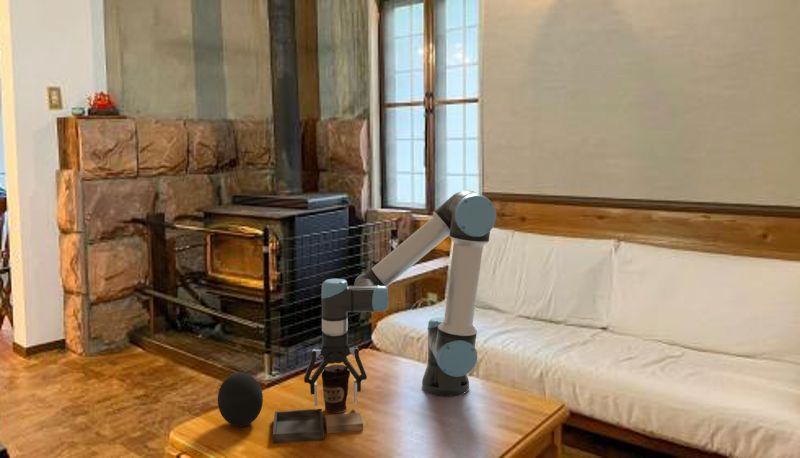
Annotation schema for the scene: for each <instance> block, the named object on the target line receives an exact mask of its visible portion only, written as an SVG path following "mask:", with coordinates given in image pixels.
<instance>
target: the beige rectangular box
mask: <svg viewBox="0 0 800 458" xmlns="http://www.w3.org/2000/svg"><path fill="white" fill-rule="evenodd" d="M324 417H325V418H324V419H325V429H326V433H327V434H335V433H337V434H338V433H348V432H360V431H364V422H363V419H362V415H361V412H355V413H354V412H353V413H336V414H328V415H327V414H326V415H324Z"/></svg>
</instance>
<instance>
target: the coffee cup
mask: <svg viewBox="0 0 800 458" xmlns="http://www.w3.org/2000/svg"><path fill="white" fill-rule="evenodd" d="M350 376H351V372H350V371H349V370H348V368H347V367H346V365H344V364H331V365H327V366H326V367H325V368H324V370H323V371H322V373H321V381H322V382H321V383H322V392H323V393H322V394H323V395H322V396H323V402H324V408H325V411H326V412H328V413H331V414H343V413H345V412H346V411H347V409H348V408H347V406H346V404H347V397H348V395H349V381H350Z"/></svg>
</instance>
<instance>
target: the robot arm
mask: <svg viewBox="0 0 800 458" xmlns="http://www.w3.org/2000/svg"><path fill="white" fill-rule="evenodd" d="M496 220H497V210H496V208H495V205H494V204H493V202H492V201H491V200H490V199H489V198H488V197H487V196H485V195H483V194H481V193H478V192H475V191H473V190H470V189H469V190H468V189H465V190H460V191H458V192H456V193H454V194H453V195H452V196H450V197H449V198H448V199H447V200H446V201H444V202H443V204H442V205H440V206H439V207H438V208H437V209H435V211H433V215H432V217H431V218H430V219H428V221H427V222H425V223H424V224H423V225H421V226H420V227H419V228H418V229H416V230H415V231H414V232H413V233H412V234H411V235H410V236H409V237H407V238H406V239H405V240H404V241H402V242H401V243H400V244H399V245H398V246H396V247H395V248H394V249H393V250H392V251H391V252H389V253H388V254H387V255H386V256H384V257H383V258H382V259H381V260H380V261H379V262H377V263H376V264H375V265H374V266H373V267H372V268H370V269H369V270H367V272H365V273H361V274H360V275H358V276H357V277H356V278H355V281H354V283H353V285H348V281H347V279H344V278H328V279H325V280H324V281H323V282H322V283H321V296H320V297H321V299H320V300H321V331H322V333H321V342H322V343H321V345H322V346H321V349H316V348H312V349H311V357H310V360H309V363H308V365H307V369H306V372H305V374H304V377H303V382H304V384H307V383H308V384H309V385H310V386H309V387H310V395H313V396H314V407H318V381H317V380H318V379H319V377H320V375H322V372H323V371H324V368H325V367H327V366H328V364H330V365H334V364H342V363H343V365H344V366H346V367H347V368H348V370H349V371H350V375H352V377H353V378H354V379H353V401H354V404H355V405H357V404H358V393H360V392H361V391H362V383H361V382H362V381H364V380H367V378H368V377H367V373H366V371H365V368H364V366H363V363H362V360H361V358H360V355H359V352H360V350H359V348H358V347H359V346H354V347H349V333H348V330H349V329H348V328H349V321H348V319H349V318H348V317H349V315H348V313H370V312H371V313H378V312H386V311H387V310H388V309H389V307H390V305H389V302H390V300H389V299H390V298H389V297H390V295H389V286H390V285H391V284H392V283H394V282H395V281H396V280H397V279H399V277H401V276H402V275H403V274H404V273H406V272H407V271H408V270H409V269H411V268H412V266H414V265H416V263H418V262H419V261H420V260H421V259H423V257H425V256H426V255H427V254H428V253H430V252H431V250H433V249H435V247H437V246H438V245H439V244H441V242H443V241H444V240H445V239H446V238H448V237H449V238H450V240H451V241H452V242H453V246H452V254H451V261H450V270H449V278H448V287H447V292H446V293H447V295H446V302H445V310H444V316H441V317H433V318H431V319H430V320H429V321H428V324H427V328H426V329H427V365H426V369H425V371H424V374H423V376H422V381H421V385H422V386H421V387H422V388H421V389H422V390H423V391H425V392H426V393H427V394H430V395H434V396H438V397H455V396H456V395H457V396H461V395H464V394H465V393H464V392H466V391H467V390H468V389H470V381H469V377H468V374H469V373H471V372H472V371H473V370H474V369H475V367H476V365H477V362H478V352H477V349H476V341H477V333H478V331H477V329H476V328H475V327H474V317H475V309H476V302H477V295H478V294H477V293H478V286H479V278H480V270H481V264H482V257H483V255H482V254H483V250H484V249H483V248H484V246H485V245H486V244H488V243H489V241H490V236H491V231H492V229H493V228H494V226H495V223H496ZM350 353H351V356H353V357H354V359H355V362H356V364H357V367H358V370H359V372H360V374H359V372H358V371H357V370H356V369H355V367H354V366H353V365H352V364H351V362H350V360H349V359H348V357H347V356H348V355H349V354H350ZM320 355H321V356H322V358H323V359H322V360H321V362H320V364H319V365H318V367H317V368H316V369H315V371H314V373H313V374H312V372H313V369H314V366H315V363H316V359H317V358H319V357H320ZM311 374H312V376H311ZM468 391H469V390H468ZM468 391H467V392H468ZM467 392H466V393H467ZM463 393H464V394H463ZM460 394H461V395H460Z"/></svg>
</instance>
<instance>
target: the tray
mask: <svg viewBox="0 0 800 458" xmlns="http://www.w3.org/2000/svg"><path fill="white" fill-rule="evenodd" d="M323 419H324V418H323V408H312V409H294V410H293V409H292V410H277V411H274V416H273V426H272V429H273V430H272V444H281V443H294V442H295V443H297V442H309V441H324V438H325V437H324V420H323Z"/></svg>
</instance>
